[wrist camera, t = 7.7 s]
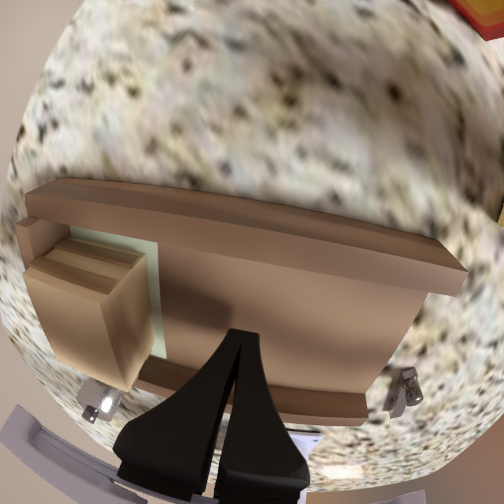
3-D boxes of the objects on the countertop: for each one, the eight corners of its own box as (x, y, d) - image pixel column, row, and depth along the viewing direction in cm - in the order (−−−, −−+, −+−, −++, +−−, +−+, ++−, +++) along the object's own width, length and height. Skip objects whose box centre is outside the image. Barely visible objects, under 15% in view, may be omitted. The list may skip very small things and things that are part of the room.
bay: (356, 391, 16) (361, 438, 13) (93, 334, 18) (67, 370, 14) (438, 240, 11) (479, 285, 7) (62, 177, 12) (10, 200, 8)
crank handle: (400, 406, 18) (405, 432, 15) (387, 409, 18) (392, 435, 15) (415, 364, 15) (425, 394, 13) (400, 368, 15) (409, 398, 13)
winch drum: (139, 379, 19) (110, 436, 14) (109, 367, 19) (78, 419, 14) (132, 357, 18) (98, 418, 12) (100, 345, 18) (64, 400, 13)
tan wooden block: (155, 343, 15) (128, 394, 11) (90, 321, 15) (58, 362, 12) (145, 249, 12) (99, 300, 8) (70, 233, 12) (20, 270, 9)
